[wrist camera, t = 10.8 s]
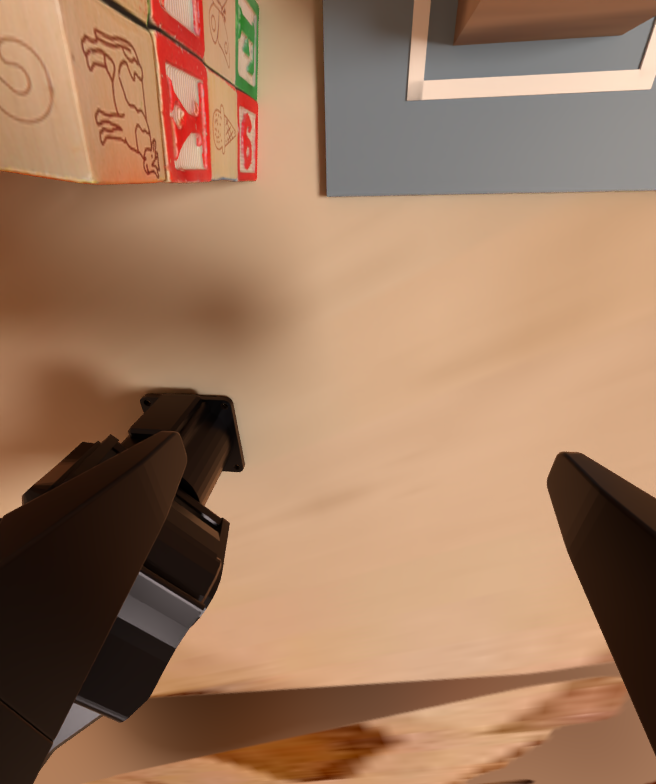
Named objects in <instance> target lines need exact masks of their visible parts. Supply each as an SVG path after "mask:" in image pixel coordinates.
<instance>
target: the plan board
mask: <svg viewBox="0 0 656 784" xmlns="http://www.w3.org/2000/svg"><path fill="white" fill-rule="evenodd" d="M457 8H458V0H323V33H324V82H325V131H326V180H327V197H335V196H386V195H436V194H487V193H538V192H588V191H639V190H656V16H655V17H653V18H651V19H649V20H647V21H646V22H644V23H642V24H640V25H639V26H637V27H635V28H633V29H632V30H630V31H628V32H626V33H625V34H623V35H619V36H603V37H586V38H570V39H554V40H538V41H521V42H505V43H489V44H473V45H456V46H453V41H454V33H455V24H456V16H457Z"/></svg>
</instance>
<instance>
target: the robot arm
mask: <svg viewBox="0 0 656 784" xmlns="http://www.w3.org/2000/svg"><path fill="white" fill-rule="evenodd" d="M147 400H148V401H150V403H149V402H148V401H147ZM140 403H141V406H142V409H143V412H144V414H143V415H142V416H141V417H140V418H139V419H138V420H137V421H136V422H135V423H134V424H133V425H132V426H131V428H130V429H129V430H128V433H129V436H128V437H127V438H126V439H125V440H124V441H123V442H122V443H121V444H120V443H119V442H118V441H119V440H118V439H117V438H115V437H114V436H113V435H111V434H110V435H109V436H108V437H107V438H106V439H105V440H104V441H103V442H102V443H100V442H99V441H97V442H96V443H95V444H94V443H86V442H82V443H81V444H80V445H79V446H78V447H76V448H75V449H74V450H73V451H72V452H71V453H70V454H69V455H68V456H67V457H65V458H64V459H63V460H62V461H61V462H60V463H59V464H58V465H56V466H55V467H54V468H53V469H52V470H51V471H49V472H48V473H47V474H46V475H45V476H44V477H42V478H41V479H40V480H39V481H38V482H36V483H35V484H34V485H33V486H32V487H31V488H30V489H29V490H28V491H26V492H25V493H24V494H23V495H22V506H21V507H19V508H17V509H15V510H13V511H11V512H9V513H8V514H6V515H4V516H3V518H0V784H33V783H34V781H35V779H36V777H37V775H38V773H39V771H40V770H41V768H42V767H43V765H44V764H45V763H46V761H47V760H48V759H49V757H50V756H51V755H52V753H53V752H54V751H55V750H56V749H57V748H59V747H60V746H61V745H63V744H64V743H65V742H67V741H68V740H70V739H71V738H73V737H74V736H75V735H77V734H78V733H80V732H81V731H82V730H84V729H85V728H87V727H88V726H89V725H90V724H92V723H94V722H95V721H96V720H98V719H99V718H101V717H102V716H105V717H108V718H110V719H112V720H114V721H117V722H123V721H125V720H126V719H128V718H129V717H130V716H131V715H132V714H133V713H134V712H135V711H136V710H137V709H138V708H139V707H140V706H141V705H142V704H143V703H144V702H146V701H147V700H148V698H149V697H150V696H151V694H152V692H153V690H154V688H155V686H156V685H157V683H158V681H159V679H160V677H161V675H162V673H163V671H164V669H165V667H166V666H167V664H168V662H169V660H170V658H171V657H172V655H173V653H174V651H175V649H176V648H177V646H178V645H179V643H180V642H181V640H182V639H183V637H184V636H185V634H186V633H187V631H188V630H189V628H190V627H191V626H193V625H194V623H195V622H196V621H197V620H198V619H199V618H200V617H201V615H202V614H203V613H204V611H205V610H206V609H207V607H208V605H209V604H210V602H211V600H212V599H213V597H214V595H215V593H216V591H217V588H218V585H219V583H220V580H221V575H222V570H223V564H224V557H225V551H226V544H227V538H228V531H229V525H230V523H229V522H228V521H227V520H225V519H224V518H220V517H219V516H217V515H216V514H214V513H213V512H212V511H210V510H209V509H208V508H206V507H205V504H206V502H207V500H208V498H209V496H210V494H211V492H212V490H213V488H214V486H215V484H216V482H217V480H218V478H219V476H220V474H221V472H222V471H229V472H241V471H242V470H243V469H244V466H245V462H244V457H243V452H242V446H241V441H240V436H239V431H238V426H237V420H236V415H235V410H234V405H233V402H232V400H231V399H229V398H228V397H213V396H199V395H190V394H146V395H144V396H143V397H142V398H141V400H140ZM223 403H225V404H226V405H227V406H224V405H223ZM237 465H239V466H237ZM547 488H548V492H549V495H550V498H551V501H552V505H553V508H554V511H555V514H556V517H557V521H558V524H559V527H560V530H561V534H562V537H563V540H564V543H565V546H566V549H567V552H568V554H569V557H570V559H571V562H572V564H573V566H574V569H575V571H576V573H577V576H578V578H579V580H580V582H581V585H582V587H583V589H584V592H585V594H586V596H587V599H588V601H589V603H590V606H591V608H592V610H593V612H594V615H595V617H596V619H597V622H598V624H599V626H600V629H601V631H602V633H603V636H604V638H605V640H606V642H607V645H608V647H609V649H610V652H611V654H612V656H613V659H614V661H615V663H616V666H617V668H618V670H619V672H620V675H621V677H622V679H623V682H624V684H625V686H626V689H627V691H628V693H629V696H630V698H631V700H632V702H633V705H634V707H635V709H636V712H637V714H638V716H639V719H640V721H641V723H642V725H643V728H644V730H645V732H646V735H647V737H648V739H649V742H650V744H651V746H652V748H653V751H654V753H655V755H656V498H654V497H653V496H651V495H649V494H648V493H646V492H644V491H643V490H641V489H640V488H638V487H636V486H635V485H633V484H631V483H630V482H628V481H626V480H625V479H623V478H621V477H620V476H618V475H617V474H615V473H613V472H612V471H610V470H608V469H607V468H605V467H603V466H602V465H600V464H599V463H597V462H595V461H594V460H592V459H590V458H589V457H587V456H585V455H584V454H582V453H579V452H560V453H559V454H558V455H557V456H556V458H555V461H554V463H553V466H552V468H551V470H550V473H549V475H548V478H547Z"/></svg>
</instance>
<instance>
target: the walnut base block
mask: <svg viewBox="0 0 656 784" xmlns="http://www.w3.org/2000/svg"><path fill="white" fill-rule="evenodd" d="M655 16H656V0H458V8H457V16H456V24H455V33H454V41H453V46H456V45H473V44H489V43H505V42H521V41H538V40H554V39H570V38H586V37H603V36H619V35H623V34H625V33H626V32H628V31H630V30H632V29H633V28H635V27H637V26H639V25H640V24H642V23H644V22H646V21H647V20H649V19H651V18H653V17H655Z"/></svg>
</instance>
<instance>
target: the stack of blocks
mask: <svg viewBox="0 0 656 784" xmlns="http://www.w3.org/2000/svg"><path fill="white" fill-rule="evenodd" d="M258 21H259V6H258V4H257V2H256V0H0V171H5V172H11V173H18V174H24V175H30V176H36V177H42V178H49V179H55V180H62V181H69V182H75V183H84V184H96V185H108V184H142V183H157V182H166V183H197V182H210V181H215V180H227V181H233V182H242V181H256V179H257V139H258V104H257V70H258Z"/></svg>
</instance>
